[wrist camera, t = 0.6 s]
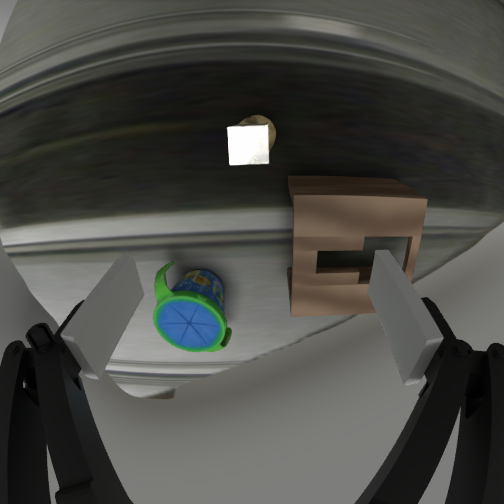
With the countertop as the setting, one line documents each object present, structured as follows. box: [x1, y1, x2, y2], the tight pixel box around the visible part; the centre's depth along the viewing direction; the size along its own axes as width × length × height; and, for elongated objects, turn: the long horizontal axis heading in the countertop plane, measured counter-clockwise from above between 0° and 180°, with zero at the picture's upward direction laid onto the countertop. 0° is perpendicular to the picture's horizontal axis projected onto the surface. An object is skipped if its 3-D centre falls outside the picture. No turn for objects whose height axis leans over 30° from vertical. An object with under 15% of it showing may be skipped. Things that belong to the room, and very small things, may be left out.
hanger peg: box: [228, 115, 276, 165], centre depth 28 cm, size 5×5×17 cm
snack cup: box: [153, 261, 232, 352], centre depth 43 cm, size 16×10×10 cm
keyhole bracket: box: [287, 176, 427, 317], centre depth 37 cm, size 16×16×10 cm
